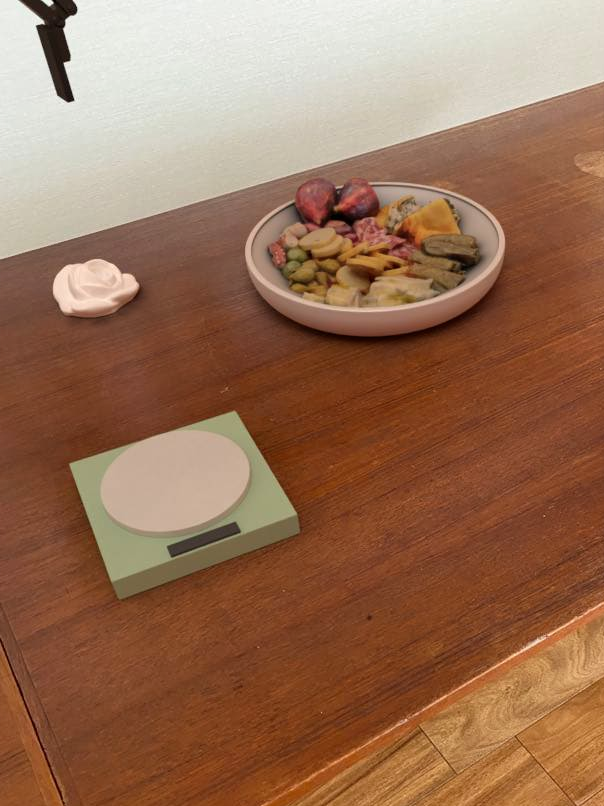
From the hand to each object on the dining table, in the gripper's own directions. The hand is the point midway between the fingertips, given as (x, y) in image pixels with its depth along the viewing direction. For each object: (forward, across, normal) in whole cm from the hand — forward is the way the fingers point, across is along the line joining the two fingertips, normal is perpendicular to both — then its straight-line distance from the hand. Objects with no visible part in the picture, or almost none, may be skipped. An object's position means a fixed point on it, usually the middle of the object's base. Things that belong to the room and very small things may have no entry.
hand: (2, 117), depth 86 cm
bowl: (+22, +31, -20) cm, 42 cm away
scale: (+21, -6, -39) cm, 45 cm away
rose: (+21, +3, -1) cm, 22 cm away
